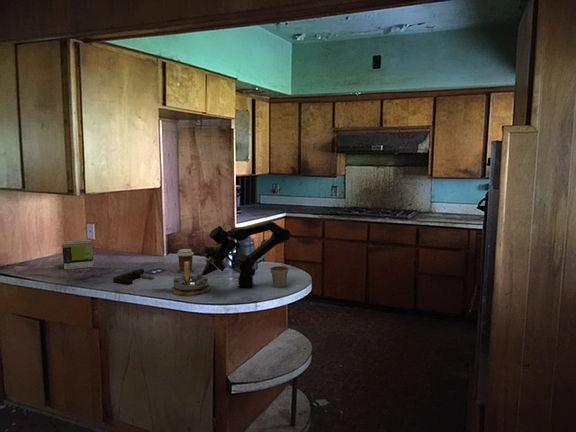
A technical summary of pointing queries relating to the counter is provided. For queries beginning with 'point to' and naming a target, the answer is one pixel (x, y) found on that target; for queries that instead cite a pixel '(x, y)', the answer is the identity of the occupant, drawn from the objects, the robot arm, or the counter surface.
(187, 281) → the ring nut
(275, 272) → the flower pot
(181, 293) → the base
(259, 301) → the counter surface
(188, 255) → the coffee cup
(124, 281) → the door handle
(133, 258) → the counter surface
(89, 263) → the tea box
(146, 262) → the counter surface
